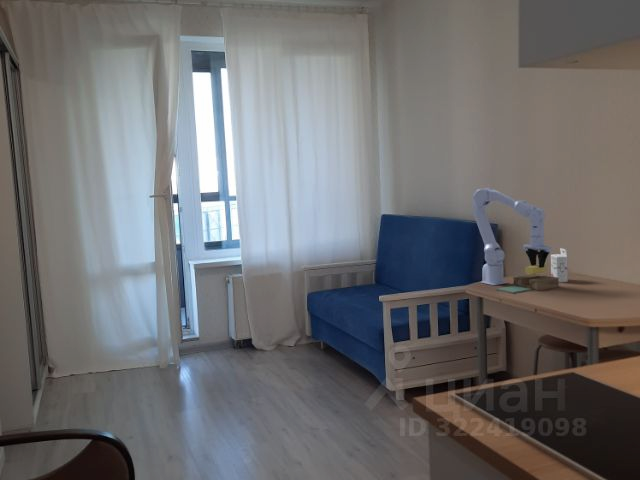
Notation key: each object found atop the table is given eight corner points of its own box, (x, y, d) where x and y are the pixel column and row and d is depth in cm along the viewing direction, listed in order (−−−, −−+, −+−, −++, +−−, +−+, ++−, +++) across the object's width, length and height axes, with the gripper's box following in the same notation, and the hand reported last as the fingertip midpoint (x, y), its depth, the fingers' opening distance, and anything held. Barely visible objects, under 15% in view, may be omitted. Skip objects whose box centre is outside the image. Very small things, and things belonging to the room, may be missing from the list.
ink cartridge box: (550, 279, 288) (549, 248, 286) (561, 278, 287) (560, 247, 286) (557, 282, 279) (556, 250, 277) (568, 282, 279) (567, 249, 277)
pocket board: (513, 286, 277) (513, 277, 276) (534, 282, 282) (534, 273, 282) (537, 290, 264) (537, 281, 264) (558, 286, 270) (558, 277, 269)
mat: (496, 290, 270) (496, 288, 270) (514, 287, 274) (514, 285, 274) (512, 293, 261) (512, 292, 261) (530, 290, 265) (530, 288, 265)
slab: (525, 273, 273) (525, 267, 273) (539, 270, 276) (538, 264, 276) (532, 274, 269) (532, 267, 269) (546, 271, 272) (546, 265, 272)
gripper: (518, 235, 276) (518, 265, 278) (542, 238, 263) (543, 269, 265) (530, 234, 279) (530, 264, 281) (555, 236, 266) (555, 267, 268)
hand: (537, 266), depth 273 cm, fingers closed on slab, 4 cm apart
